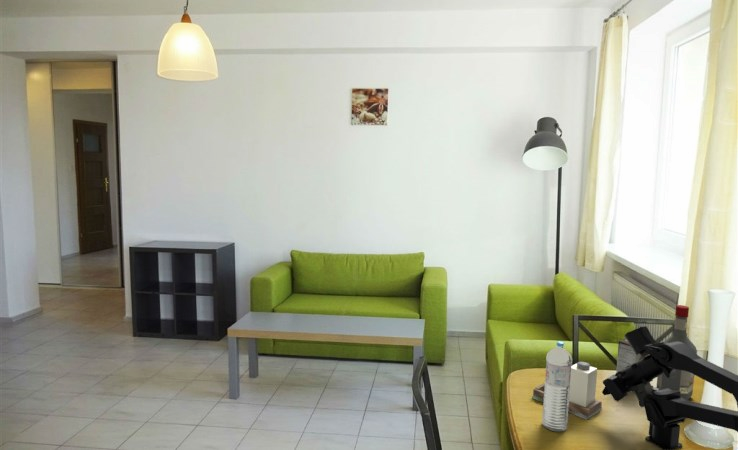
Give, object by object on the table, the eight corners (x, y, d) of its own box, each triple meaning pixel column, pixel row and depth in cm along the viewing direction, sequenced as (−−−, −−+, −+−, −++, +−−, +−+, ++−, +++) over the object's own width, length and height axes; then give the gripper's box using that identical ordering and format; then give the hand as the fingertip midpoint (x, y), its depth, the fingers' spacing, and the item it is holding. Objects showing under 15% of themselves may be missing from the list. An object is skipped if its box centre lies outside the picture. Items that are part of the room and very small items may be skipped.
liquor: (653, 394, 169) (662, 306, 165) (663, 386, 175) (671, 301, 172) (684, 404, 162) (694, 312, 159) (693, 396, 169) (703, 307, 165)
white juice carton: (594, 405, 157) (597, 364, 156) (585, 411, 153) (588, 369, 152) (575, 398, 162) (578, 358, 160) (566, 404, 158) (569, 363, 156)
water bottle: (547, 418, 152) (552, 336, 149) (570, 426, 147) (576, 342, 144) (538, 427, 146) (543, 342, 143) (562, 435, 142) (568, 348, 139)
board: (601, 409, 158) (602, 400, 157) (586, 419, 151) (587, 410, 151) (547, 389, 171) (548, 380, 171) (532, 398, 164) (532, 389, 164)
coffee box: (628, 379, 180) (631, 335, 178) (646, 386, 175) (650, 341, 173) (614, 386, 175) (617, 340, 173) (632, 393, 170) (637, 346, 168)
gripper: (654, 406, 133) (607, 429, 142) (678, 386, 145) (634, 409, 155) (625, 368, 138) (582, 392, 147) (651, 352, 150) (610, 375, 160)
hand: (603, 393), depth 152 cm, fingers closed
